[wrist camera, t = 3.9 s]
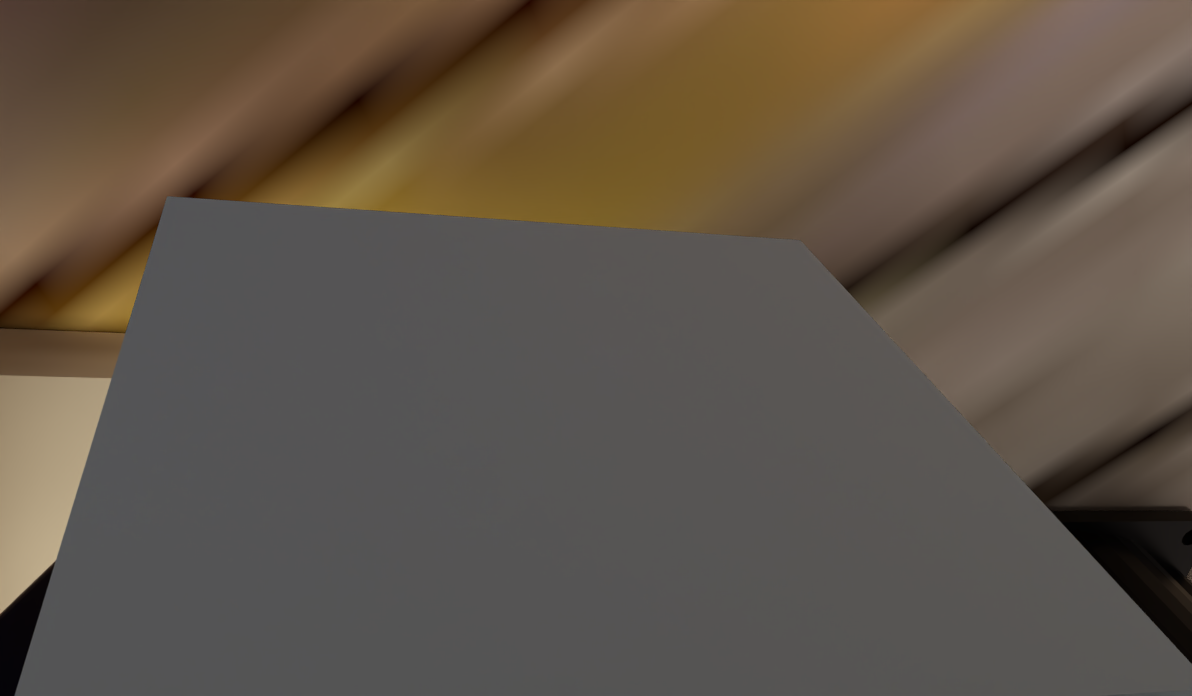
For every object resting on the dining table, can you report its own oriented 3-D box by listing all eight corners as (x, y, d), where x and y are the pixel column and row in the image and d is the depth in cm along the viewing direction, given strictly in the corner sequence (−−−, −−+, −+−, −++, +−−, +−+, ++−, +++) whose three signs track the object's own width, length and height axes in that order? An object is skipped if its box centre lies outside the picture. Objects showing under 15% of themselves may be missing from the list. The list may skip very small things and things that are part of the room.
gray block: (800, 240, 9) (1214, 687, 5) (681, 672, 11) (893, 1227, 7) (166, 196, 8) (-7, 762, 4) (177, 696, 10) (80, 1396, 6)
